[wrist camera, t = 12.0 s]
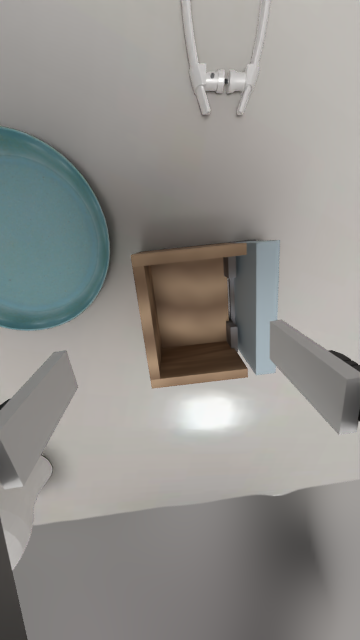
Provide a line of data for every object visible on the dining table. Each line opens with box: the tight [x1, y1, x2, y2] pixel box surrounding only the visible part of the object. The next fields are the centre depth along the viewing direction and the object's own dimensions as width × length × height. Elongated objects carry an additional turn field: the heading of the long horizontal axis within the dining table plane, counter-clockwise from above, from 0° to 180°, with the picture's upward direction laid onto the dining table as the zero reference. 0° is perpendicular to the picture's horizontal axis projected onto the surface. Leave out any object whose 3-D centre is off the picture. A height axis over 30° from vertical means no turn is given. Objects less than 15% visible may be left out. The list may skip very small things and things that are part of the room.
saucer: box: [0, 126, 110, 331], centre depth 31 cm, size 24×24×3 cm
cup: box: [0, 455, 52, 571], centre depth 37 cm, size 11×11×15 cm
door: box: [234, 240, 280, 375], centre depth 31 cm, size 16×2×9 cm, turn 6°
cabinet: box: [131, 240, 256, 388], centre depth 31 cm, size 16×17×10 cm
